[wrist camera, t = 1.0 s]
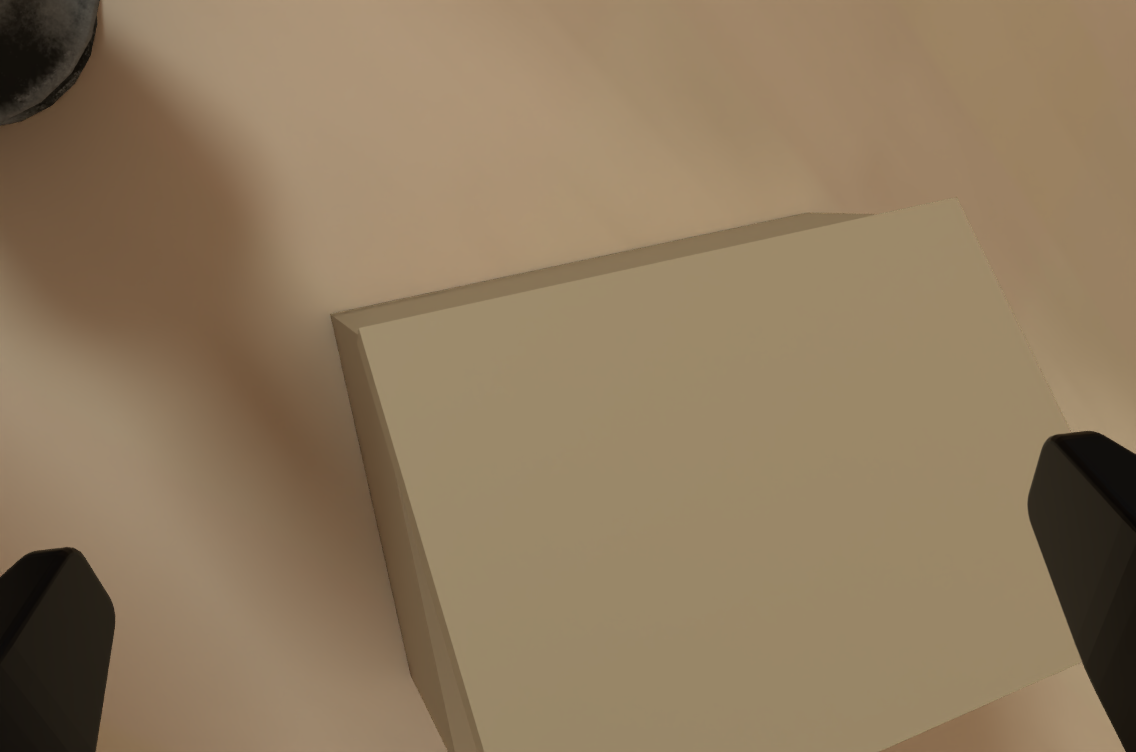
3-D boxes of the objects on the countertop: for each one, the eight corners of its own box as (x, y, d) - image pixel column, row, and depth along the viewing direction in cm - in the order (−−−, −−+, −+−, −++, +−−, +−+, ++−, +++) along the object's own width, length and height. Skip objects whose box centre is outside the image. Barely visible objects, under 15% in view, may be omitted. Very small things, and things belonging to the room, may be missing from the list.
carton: (839, 528, 31) (954, 585, 26) (410, 675, 26) (459, 776, 22) (807, 212, 28) (928, 215, 24) (330, 313, 24) (366, 341, 19)
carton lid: (356, 343, 19) (358, 328, 18) (937, 213, 24) (956, 197, 23) (520, 899, 16) (530, 905, 16) (1136, 629, 21) (1165, 625, 20)
